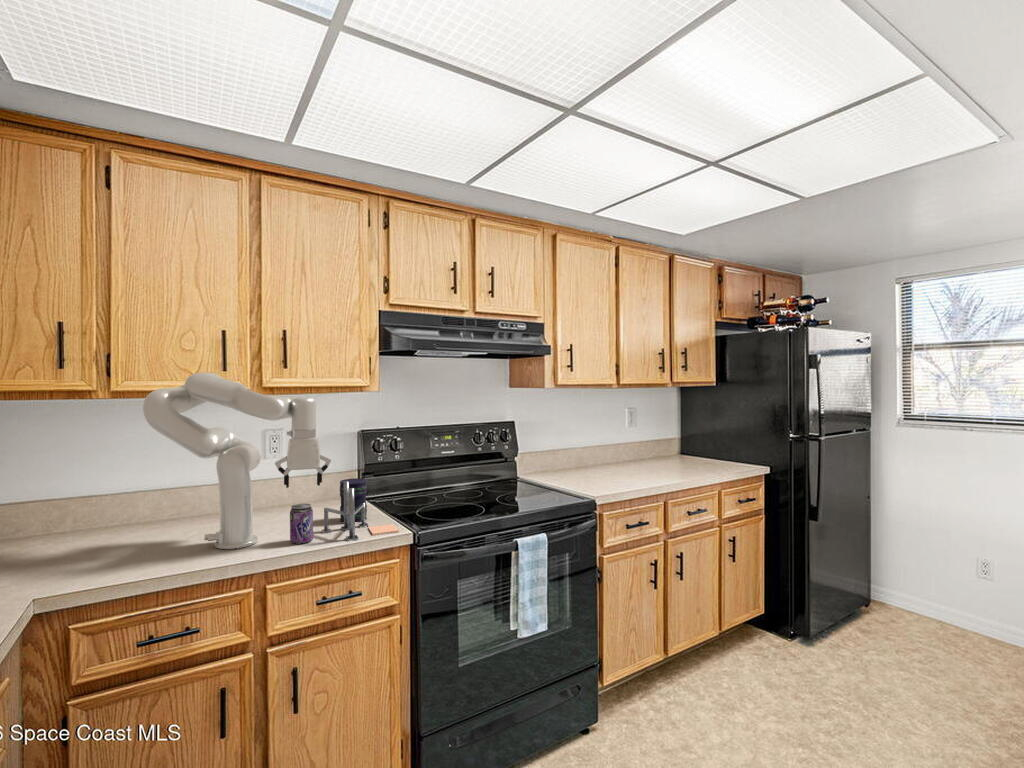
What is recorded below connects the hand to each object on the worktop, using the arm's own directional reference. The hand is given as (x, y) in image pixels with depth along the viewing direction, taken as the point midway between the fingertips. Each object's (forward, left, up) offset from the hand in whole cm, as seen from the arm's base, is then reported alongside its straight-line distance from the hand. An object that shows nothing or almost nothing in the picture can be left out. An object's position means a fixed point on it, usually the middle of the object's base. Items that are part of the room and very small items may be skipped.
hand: (303, 485), depth 177 cm
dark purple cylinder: (+19, +20, -19) cm, 33 cm away
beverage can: (-1, 0, -19) cm, 19 cm away
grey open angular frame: (+15, +2, -18) cm, 24 cm away
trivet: (+26, +1, -18) cm, 32 cm away
